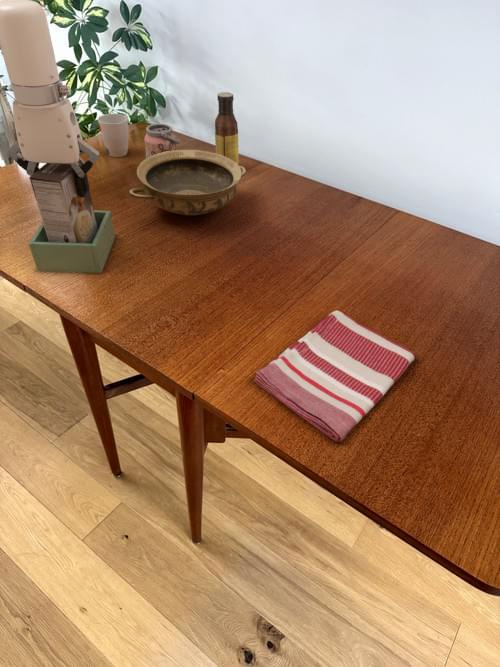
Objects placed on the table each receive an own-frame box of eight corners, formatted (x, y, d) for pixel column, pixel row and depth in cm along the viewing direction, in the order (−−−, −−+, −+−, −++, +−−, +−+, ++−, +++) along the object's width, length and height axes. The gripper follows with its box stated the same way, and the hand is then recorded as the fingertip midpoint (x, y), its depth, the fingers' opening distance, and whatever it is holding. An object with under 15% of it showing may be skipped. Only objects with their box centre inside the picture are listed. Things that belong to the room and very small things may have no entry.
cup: (110, 147, 139) (105, 112, 132) (136, 150, 138) (132, 115, 131) (99, 157, 133) (92, 121, 126) (125, 161, 132) (120, 125, 125)
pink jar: (174, 163, 132) (171, 120, 124) (186, 175, 127) (184, 130, 119) (143, 169, 129) (138, 124, 120) (154, 181, 123) (150, 135, 115)
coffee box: (71, 230, 99) (52, 156, 88) (99, 233, 99) (84, 159, 88) (50, 253, 93) (27, 176, 82) (80, 257, 92) (62, 180, 81)
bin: (37, 272, 92) (28, 243, 88) (57, 235, 102) (50, 208, 98) (101, 274, 93) (95, 245, 88) (115, 237, 103) (110, 210, 98)
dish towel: (250, 383, 73) (251, 372, 72) (334, 315, 87) (337, 304, 85) (338, 447, 66) (342, 436, 64) (416, 361, 79) (421, 350, 77)
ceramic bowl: (154, 248, 100) (149, 206, 93) (115, 201, 115) (108, 162, 108) (269, 216, 113) (272, 177, 106) (221, 177, 127) (221, 140, 120)
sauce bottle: (240, 167, 132) (242, 92, 119) (235, 176, 128) (236, 99, 114) (218, 164, 133) (218, 89, 120) (212, 173, 129) (211, 96, 115)
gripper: (97, 88, 79) (113, 186, 91) (-7, 83, 78) (24, 183, 91) (86, 102, 74) (105, 204, 86) (-26, 97, 73) (9, 201, 85)
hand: (63, 192), depth 88 cm, fingers closed on coffee box, 7 cm apart
